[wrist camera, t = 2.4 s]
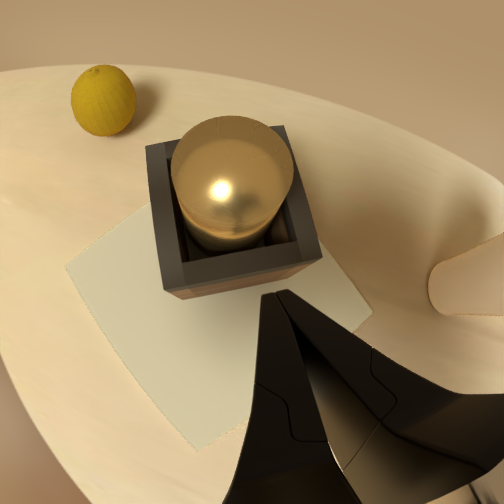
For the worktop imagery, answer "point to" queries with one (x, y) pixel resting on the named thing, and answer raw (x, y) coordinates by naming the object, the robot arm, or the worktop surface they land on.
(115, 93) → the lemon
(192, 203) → the peg
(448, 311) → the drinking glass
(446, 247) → the worktop surface
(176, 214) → the wooden box
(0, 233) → the worktop surface
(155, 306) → the mat
